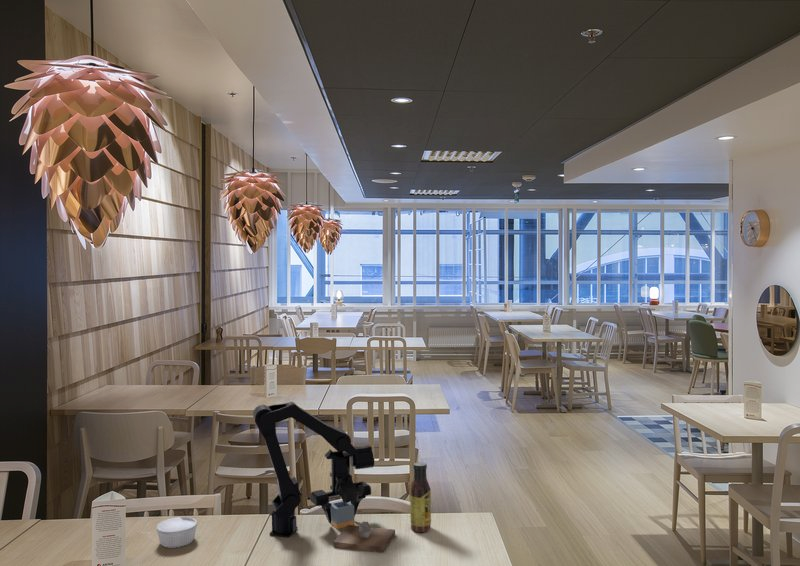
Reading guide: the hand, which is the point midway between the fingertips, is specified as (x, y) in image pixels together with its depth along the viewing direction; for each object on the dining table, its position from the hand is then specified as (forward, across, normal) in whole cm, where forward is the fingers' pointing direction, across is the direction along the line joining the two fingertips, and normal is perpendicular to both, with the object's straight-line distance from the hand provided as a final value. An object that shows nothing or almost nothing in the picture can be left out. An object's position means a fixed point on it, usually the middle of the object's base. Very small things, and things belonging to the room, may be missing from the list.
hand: (341, 520), depth 198 cm
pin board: (+1, +1, -15) cm, 15 cm away
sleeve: (+1, 0, 0) cm, 1 cm away
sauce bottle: (+1, +19, -16) cm, 25 cm away
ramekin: (+1, -47, +14) cm, 49 cm away
